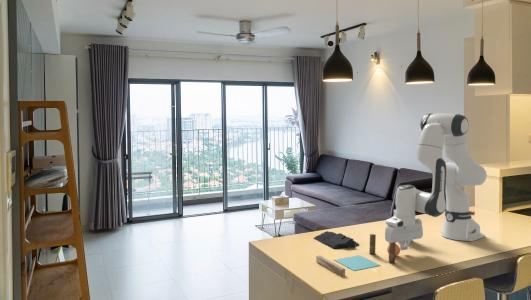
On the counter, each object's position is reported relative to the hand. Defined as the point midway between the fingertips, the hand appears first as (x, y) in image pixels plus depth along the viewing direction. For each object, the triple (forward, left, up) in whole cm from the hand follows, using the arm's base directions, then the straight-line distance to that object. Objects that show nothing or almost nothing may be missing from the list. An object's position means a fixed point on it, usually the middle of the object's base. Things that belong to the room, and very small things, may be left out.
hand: (403, 249), depth 193 cm
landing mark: (+27, 0, -2) cm, 27 cm away
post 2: (+13, +6, -2) cm, 14 cm away
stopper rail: (+41, 0, -2) cm, 41 cm away
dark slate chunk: (+18, -29, -3) cm, 34 cm away
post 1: (+13, -7, -2) cm, 15 cm away
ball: (+6, 0, +1) cm, 6 cm away
